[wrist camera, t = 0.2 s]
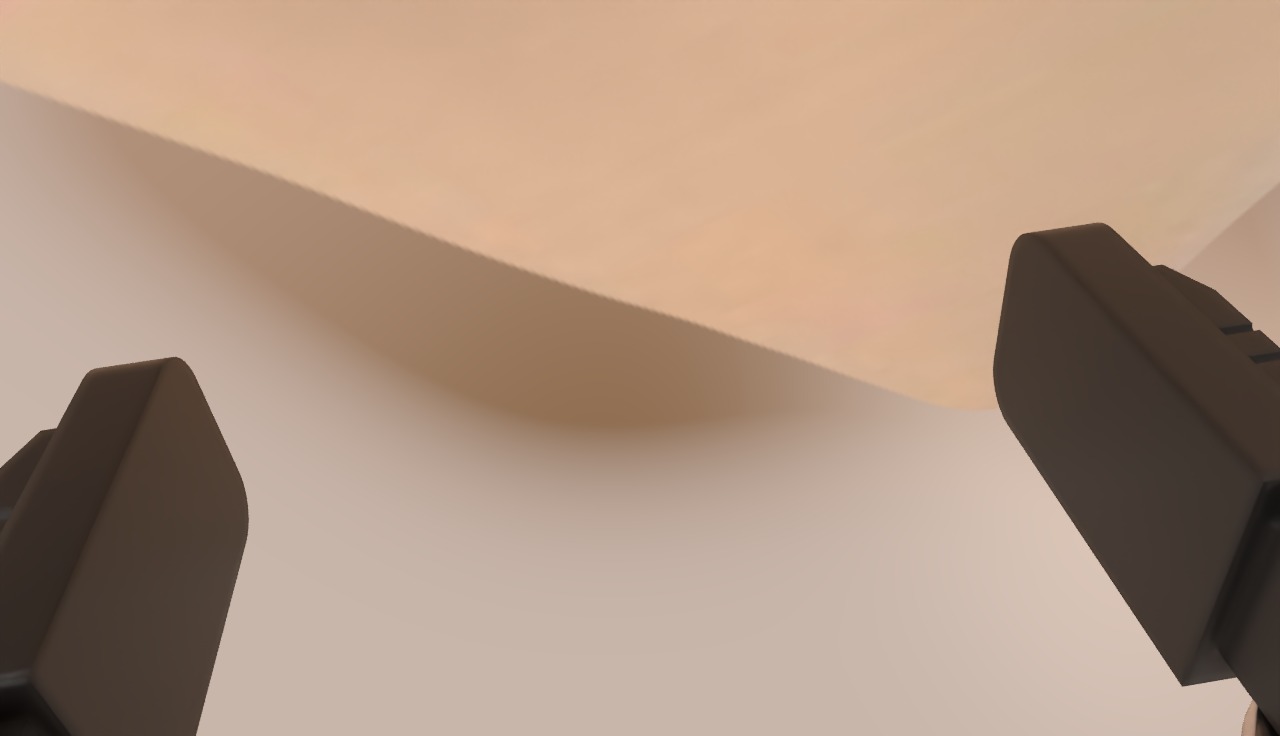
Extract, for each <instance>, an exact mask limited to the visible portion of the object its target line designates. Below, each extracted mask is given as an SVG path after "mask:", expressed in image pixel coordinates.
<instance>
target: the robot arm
mask: <svg viewBox="0 0 1280 736" xmlns="http://www.w3.org/2000/svg"><path fill="white" fill-rule="evenodd" d="M993 377H994V386H995V392H996V397H997V401H998V404H999V407H1000V410H1001V412H1002V415H1003V417H1004V419H1005V421H1006V422H1007V424H1008V426H1009V427H1010V429H1011V430H1012V431H1013V433H1014V435H1015V436H1016V438H1017V439H1018V440H1019V442H1020V444H1021V445H1022V447H1023V448H1024V450H1025V451H1026V453H1027V454H1028V456H1029V457H1030V459H1031V460H1032V462H1033V463H1034V465H1035V466H1036V468H1037V469H1038V471H1039V472H1040V474H1041V475H1042V477H1043V478H1044V480H1045V481H1046V483H1047V484H1048V486H1049V487H1050V489H1051V490H1052V492H1053V493H1054V495H1055V496H1056V498H1057V499H1058V501H1059V502H1060V504H1061V505H1062V507H1063V508H1064V510H1065V511H1066V513H1067V514H1068V516H1069V517H1070V519H1071V520H1072V522H1073V523H1074V525H1075V526H1076V528H1077V529H1078V531H1079V532H1080V534H1081V535H1082V537H1083V538H1084V540H1085V541H1086V543H1087V544H1088V546H1089V547H1090V549H1091V550H1092V552H1093V553H1094V555H1095V556H1096V558H1097V559H1098V561H1099V562H1100V564H1101V565H1102V567H1103V568H1104V570H1105V571H1106V573H1107V574H1108V576H1109V577H1110V579H1111V580H1112V582H1113V583H1114V585H1115V586H1116V588H1117V589H1118V591H1119V592H1120V594H1121V595H1122V597H1123V598H1124V600H1125V601H1126V603H1127V604H1128V606H1129V607H1130V609H1131V610H1132V612H1133V613H1134V615H1135V616H1136V618H1137V619H1138V621H1139V622H1140V624H1141V625H1142V627H1143V628H1144V630H1145V631H1146V633H1147V634H1148V636H1149V637H1150V639H1151V640H1152V642H1153V643H1154V645H1155V646H1156V648H1157V649H1158V651H1159V652H1160V654H1161V655H1162V657H1163V658H1164V660H1165V661H1166V663H1167V664H1168V666H1169V667H1170V669H1171V670H1172V672H1173V673H1174V675H1175V676H1176V678H1177V679H1178V681H1179V682H1180V684H1181V685H1182V686H1188V685H1194V684H1200V683H1206V682H1212V681H1218V680H1223V679H1229V678H1235V677H1237V678H1238V679H1239V681H1240V682H1241V683H1242V685H1243V686H1244V687H1245V689H1246V690H1247V692H1248V693H1249V695H1250V696H1251V697H1252V699H1253V700H1252V702H1251V704H1250V706H1249V708H1248V710H1247V712H1246V714H1245V718H1244V722H1243V726H1242V734H1241V736H1280V348H1279V347H1278V346H1277V345H1276V344H1275V343H1274V342H1273V341H1271V340H1270V339H1269V338H1268V337H1267V336H1266V335H1265V334H1264V333H1263V332H1261V331H1260V330H1257V331H1253V329H1252V323H1251V322H1250V321H1249V320H1248V319H1247V318H1246V317H1245V316H1244V315H1242V314H1241V313H1240V312H1239V311H1238V310H1237V309H1236V308H1235V307H1233V306H1232V305H1231V304H1230V303H1229V302H1228V301H1227V300H1225V299H1224V298H1223V297H1222V296H1221V295H1220V294H1219V293H1218V292H1217V291H1216V290H1214V289H1212V288H1210V287H1208V286H1206V285H1204V284H1201V283H1199V282H1197V281H1195V280H1193V279H1191V278H1189V277H1187V276H1185V275H1183V274H1181V273H1179V272H1177V271H1174V270H1172V269H1170V268H1168V267H1166V266H1164V265H1157V266H1152V265H1151V264H1149V263H1148V262H1147V261H1146V260H1145V259H1144V258H1143V257H1142V256H1141V255H1140V254H1139V253H1138V252H1137V251H1136V250H1135V249H1134V248H1132V247H1131V246H1130V245H1129V244H1128V243H1127V242H1126V241H1125V240H1124V239H1123V238H1122V237H1121V236H1120V235H1119V234H1118V233H1117V232H1115V231H1114V230H1113V229H1112V228H1111V227H1109V226H1108V225H1106V224H1104V223H1092V224H1086V225H1079V226H1072V227H1065V228H1058V229H1052V230H1045V231H1038V232H1031V233H1026V234H1022V235H1021V236H1019V237H1018V239H1017V240H1016V241H1015V243H1014V245H1013V248H1012V251H1011V254H1010V259H1009V265H1008V272H1007V278H1006V285H1005V291H1004V298H1003V304H1002V310H1001V317H1000V323H999V330H998V336H997V343H996V349H995V356H994V364H993ZM248 522H249V517H248V504H247V497H246V492H245V488H244V484H243V481H242V478H241V475H240V473H239V471H238V469H237V466H236V464H235V462H234V460H233V458H232V456H231V453H230V451H229V449H228V447H227V445H226V443H225V440H224V438H223V436H222V434H221V431H220V429H219V427H218V425H217V423H216V421H215V419H214V416H213V414H212V412H211V410H210V407H209V405H208V403H207V401H206V399H205V397H204V395H203V392H202V390H201V388H200V386H199V384H198V382H197V379H196V377H195V375H194V373H193V372H192V370H191V369H190V367H189V366H188V365H187V364H186V362H185V361H183V360H182V359H180V358H177V357H171V358H164V359H157V360H150V361H143V362H137V363H130V364H124V365H116V366H109V367H103V368H96V369H93V370H91V371H89V372H88V373H87V374H86V376H85V377H84V379H83V380H82V382H81V384H80V386H79V387H78V389H77V391H76V393H75V395H74V397H73V399H72V400H71V402H70V404H69V406H68V408H67V410H66V412H65V413H64V415H63V417H62V419H61V421H60V423H59V425H58V427H57V428H56V429H50V430H43V431H40V432H39V433H38V434H37V435H36V436H35V437H34V438H33V439H31V440H30V441H29V442H28V443H27V444H26V445H25V446H24V447H23V448H22V449H21V450H20V451H18V453H16V454H15V455H14V456H13V457H12V458H11V459H10V460H9V461H8V462H6V463H5V464H4V465H3V466H2V467H1V468H0V736H196V733H197V729H198V725H199V721H200V717H201V714H202V710H203V706H204V702H205V698H206V694H207V690H208V686H209V683H210V679H211V675H212V671H213V668H214V663H215V660H216V656H217V652H218V648H219V644H220V640H221V636H222V633H223V629H224V625H225V621H226V617H227V613H228V609H229V606H230V602H231V598H232V594H233V590H234V587H235V583H236V579H237V575H238V571H239V567H240V564H241V560H242V556H243V552H244V548H245V544H246V540H247V535H248Z"/></svg>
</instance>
